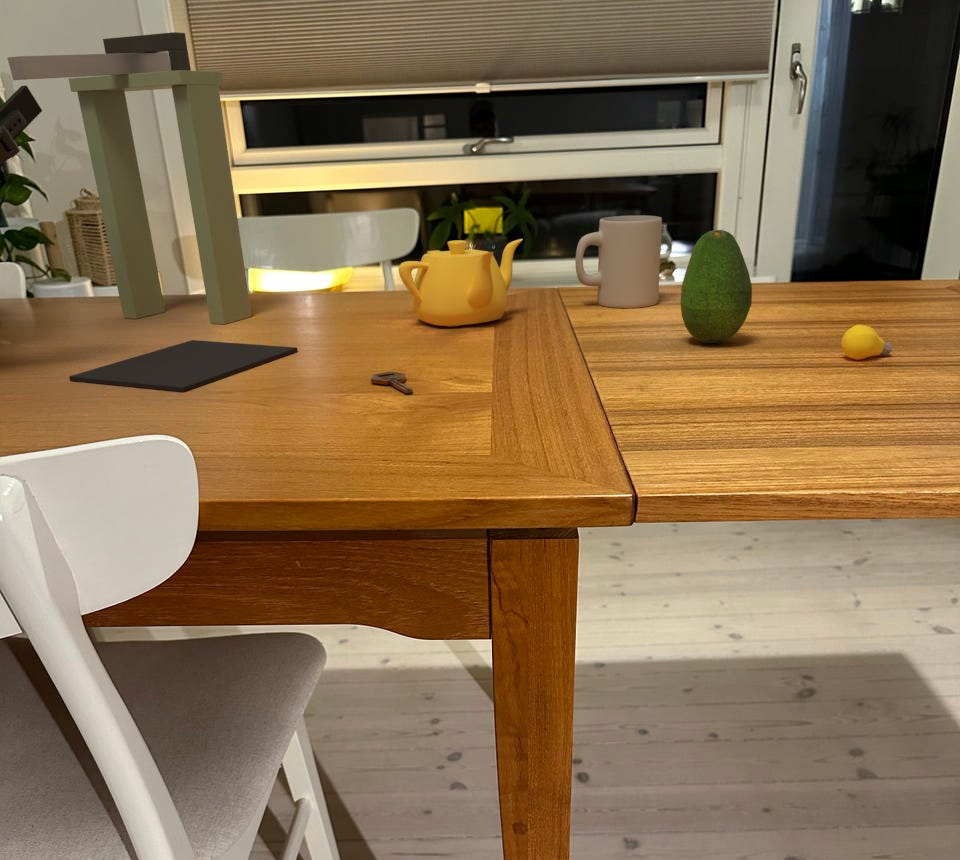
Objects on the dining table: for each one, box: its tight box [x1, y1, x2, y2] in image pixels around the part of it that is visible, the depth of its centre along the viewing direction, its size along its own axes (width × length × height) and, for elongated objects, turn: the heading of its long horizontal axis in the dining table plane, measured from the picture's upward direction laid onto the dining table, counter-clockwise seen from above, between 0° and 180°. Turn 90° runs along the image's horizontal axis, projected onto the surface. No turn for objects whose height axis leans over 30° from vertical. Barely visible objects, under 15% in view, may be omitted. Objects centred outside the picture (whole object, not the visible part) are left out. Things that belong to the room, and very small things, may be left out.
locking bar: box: [6, 52, 171, 81], centre depth 116 cm, size 2×24×2 cm, turn 154°
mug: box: [574, 215, 663, 309], centre depth 132 cm, size 12×8×11 cm
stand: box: [68, 31, 252, 325], centre depth 129 cm, size 18×8×34 cm, turn 64°
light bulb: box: [840, 324, 893, 361], centre depth 100 cm, size 3×6×4 cm, turn 108°
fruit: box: [679, 229, 753, 344], centre depth 107 cm, size 8×8×12 cm
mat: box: [68, 339, 299, 393], centre depth 108 cm, size 16×20×1 cm
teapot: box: [398, 238, 524, 328], centre depth 125 cm, size 14×13×10 cm
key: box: [370, 371, 414, 394], centre depth 96 cm, size 4×8×1 cm, turn 26°
